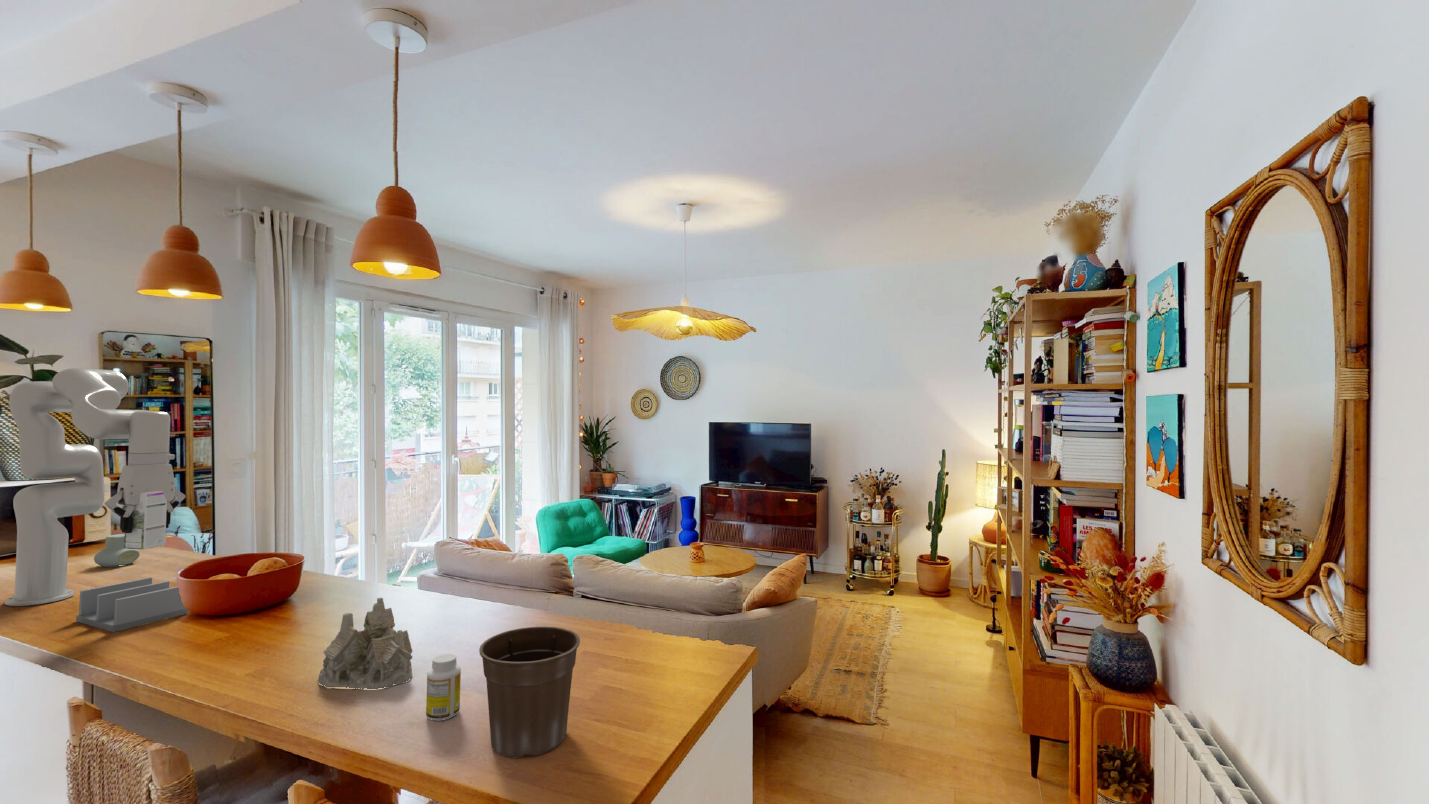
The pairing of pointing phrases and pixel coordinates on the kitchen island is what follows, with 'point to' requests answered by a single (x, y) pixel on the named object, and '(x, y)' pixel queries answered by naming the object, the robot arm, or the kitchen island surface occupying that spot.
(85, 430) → the robot arm
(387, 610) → the ceramic cottage
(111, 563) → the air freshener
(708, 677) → the kitchen island surface
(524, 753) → the plant pot
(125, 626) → the slot rack
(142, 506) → the syrup box
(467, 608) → the kitchen island surface
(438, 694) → the supplement bottle
